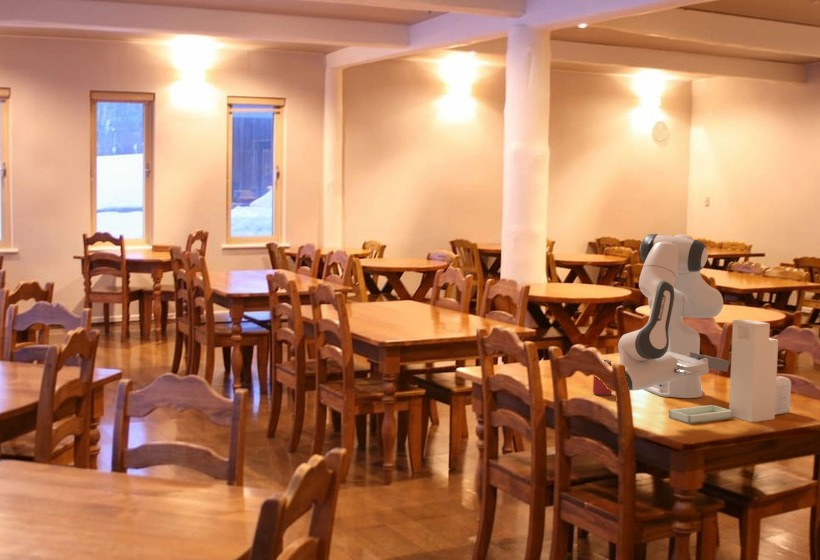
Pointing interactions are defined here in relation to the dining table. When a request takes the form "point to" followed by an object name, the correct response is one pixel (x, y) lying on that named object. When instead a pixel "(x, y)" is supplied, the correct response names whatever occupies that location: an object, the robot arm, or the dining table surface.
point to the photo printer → (782, 395)
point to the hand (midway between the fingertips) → (700, 358)
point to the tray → (700, 414)
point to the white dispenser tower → (753, 371)
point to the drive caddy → (713, 362)
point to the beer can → (600, 385)
